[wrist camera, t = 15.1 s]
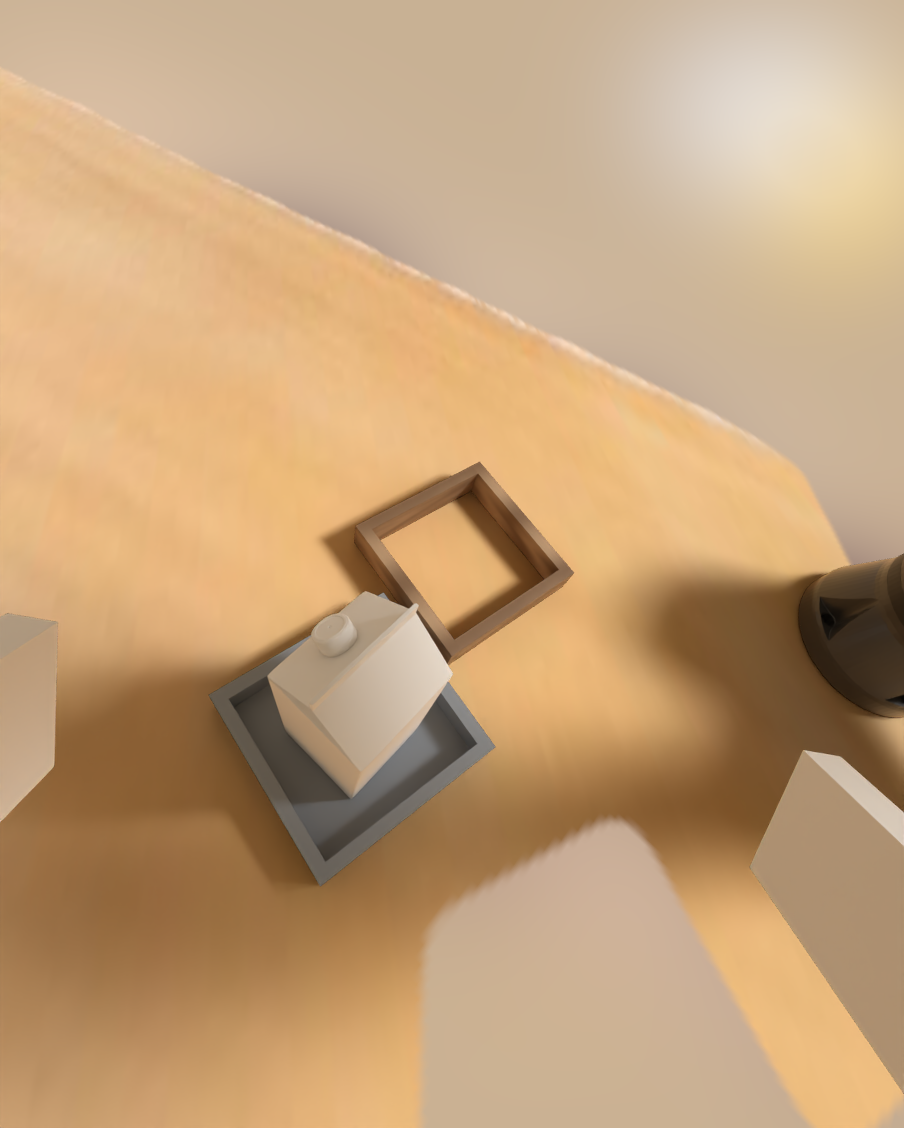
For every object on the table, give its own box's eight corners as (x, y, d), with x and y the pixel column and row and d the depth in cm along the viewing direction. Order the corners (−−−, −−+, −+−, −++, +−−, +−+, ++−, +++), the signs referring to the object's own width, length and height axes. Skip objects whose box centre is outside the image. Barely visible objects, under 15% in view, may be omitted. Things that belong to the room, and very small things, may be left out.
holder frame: (562, 586, 54) (574, 572, 51) (445, 667, 48) (452, 656, 46) (472, 479, 58) (479, 461, 55) (354, 542, 52) (355, 525, 49)
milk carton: (417, 728, 45) (469, 651, 28) (351, 800, 42) (366, 760, 25) (353, 666, 46) (368, 557, 30) (284, 731, 43) (257, 650, 26)
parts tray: (486, 753, 46) (495, 747, 43) (320, 884, 39) (320, 886, 37) (380, 606, 50) (383, 592, 47) (215, 705, 43) (208, 695, 41)
